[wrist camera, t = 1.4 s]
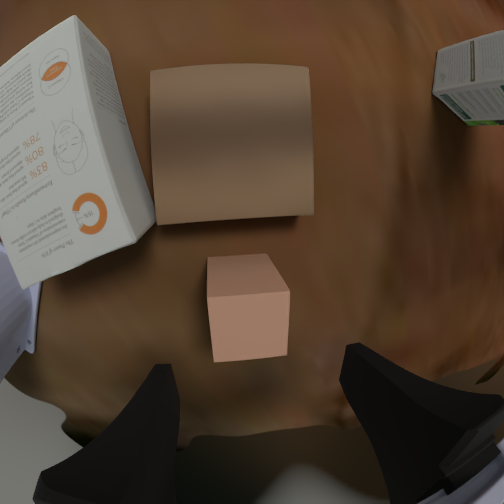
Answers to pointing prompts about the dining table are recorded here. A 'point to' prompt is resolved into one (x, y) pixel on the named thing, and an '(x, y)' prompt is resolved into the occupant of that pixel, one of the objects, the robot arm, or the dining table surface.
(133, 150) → the small box
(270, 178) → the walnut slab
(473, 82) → the syrup box
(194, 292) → the dining table surface
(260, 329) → the terracotta block
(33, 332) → the robot arm
